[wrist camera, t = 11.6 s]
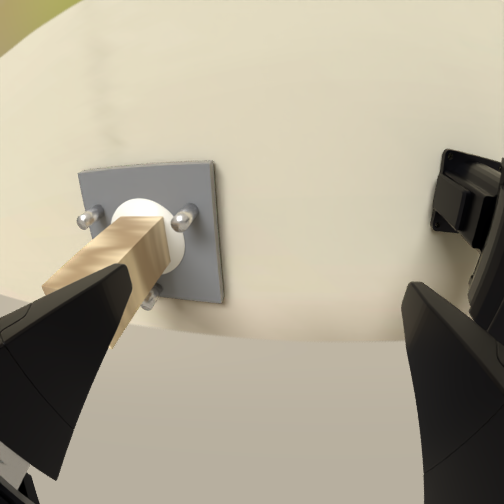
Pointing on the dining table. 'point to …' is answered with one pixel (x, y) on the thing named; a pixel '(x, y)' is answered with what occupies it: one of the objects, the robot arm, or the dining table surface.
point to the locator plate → (175, 220)
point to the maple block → (121, 259)
